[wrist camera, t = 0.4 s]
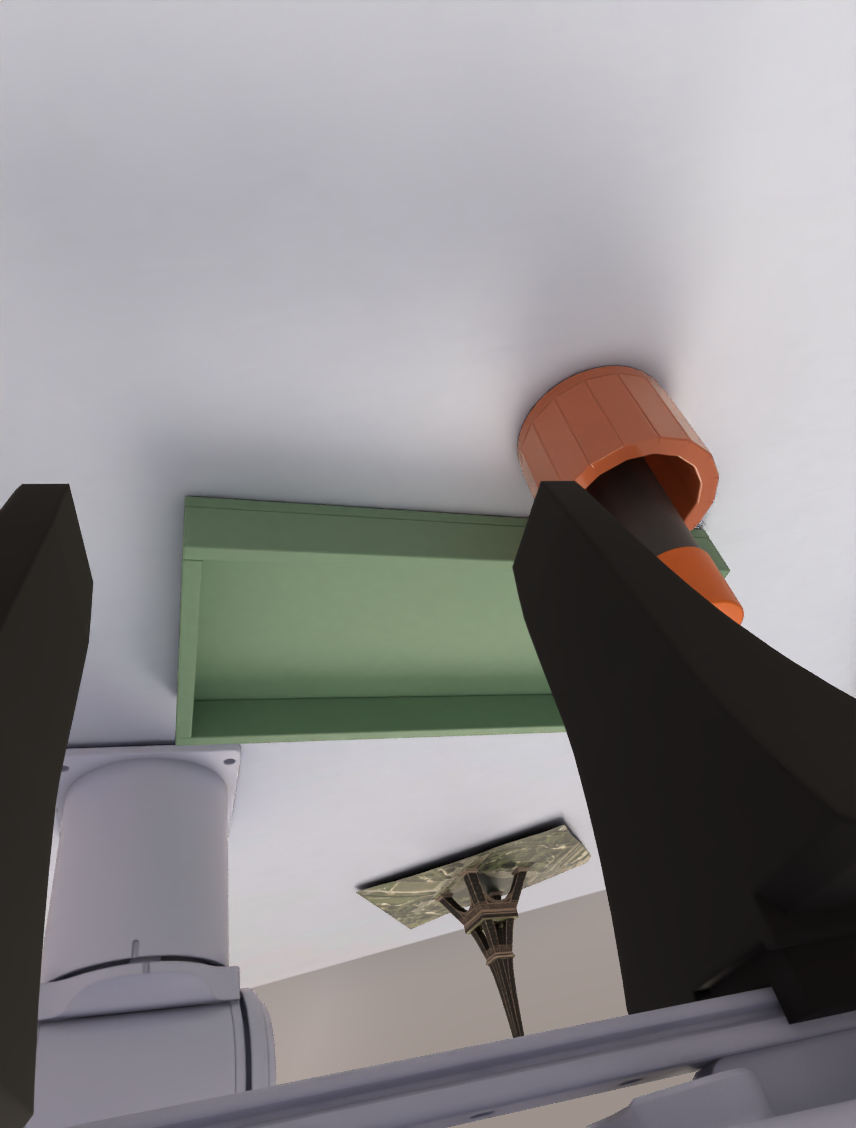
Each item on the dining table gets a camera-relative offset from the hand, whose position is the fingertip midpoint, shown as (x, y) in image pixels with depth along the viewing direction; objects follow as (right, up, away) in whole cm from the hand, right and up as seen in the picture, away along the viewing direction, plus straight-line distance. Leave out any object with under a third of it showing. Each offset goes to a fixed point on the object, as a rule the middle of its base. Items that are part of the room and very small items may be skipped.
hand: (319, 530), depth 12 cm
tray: (+2, -3, +19) cm, 19 cm away
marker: (+7, +3, +13) cm, 15 cm away
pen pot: (+7, +4, +13) cm, 15 cm away
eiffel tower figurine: (+5, -22, +41) cm, 47 cm away
